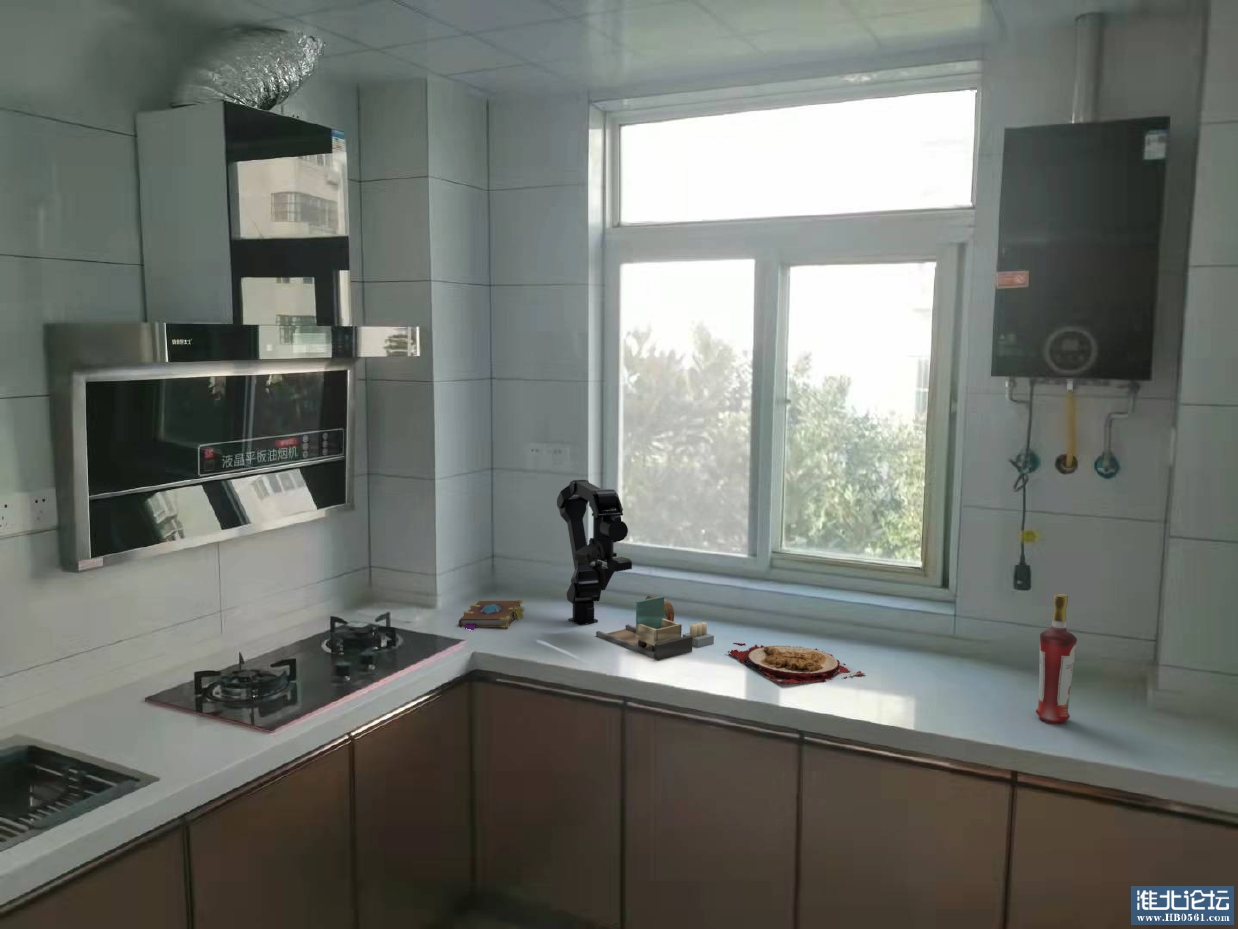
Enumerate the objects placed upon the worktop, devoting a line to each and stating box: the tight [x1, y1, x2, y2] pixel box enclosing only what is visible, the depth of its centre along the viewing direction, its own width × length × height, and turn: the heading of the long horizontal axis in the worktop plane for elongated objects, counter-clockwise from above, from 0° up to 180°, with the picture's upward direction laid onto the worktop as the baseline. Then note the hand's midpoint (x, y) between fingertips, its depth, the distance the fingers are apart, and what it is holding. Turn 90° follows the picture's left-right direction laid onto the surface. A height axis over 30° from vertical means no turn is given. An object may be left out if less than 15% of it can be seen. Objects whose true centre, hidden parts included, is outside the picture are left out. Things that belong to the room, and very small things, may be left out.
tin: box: [645, 595, 675, 622], centre depth 275 cm, size 15×3×8 cm, turn 25°
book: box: [458, 599, 525, 631], centre depth 279 cm, size 16×25×5 cm, turn 173°
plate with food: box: [727, 642, 865, 685], centre depth 243 cm, size 25×26×4 cm
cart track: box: [595, 624, 693, 661], centre depth 256 cm, size 26×12×5 cm, turn 40°
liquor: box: [1035, 593, 1078, 724], centre depth 208 cm, size 7×7×28 cm
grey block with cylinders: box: [682, 621, 715, 648], centre depth 258 cm, size 6×6×6 cm
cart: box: [635, 595, 683, 652], centre depth 251 cm, size 8×9×13 cm
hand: (602, 589), depth 264 cm, fingers closed
